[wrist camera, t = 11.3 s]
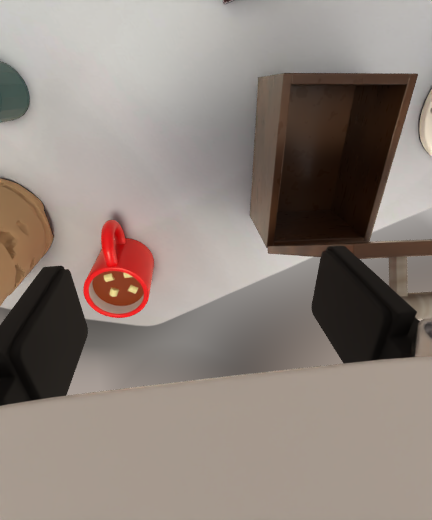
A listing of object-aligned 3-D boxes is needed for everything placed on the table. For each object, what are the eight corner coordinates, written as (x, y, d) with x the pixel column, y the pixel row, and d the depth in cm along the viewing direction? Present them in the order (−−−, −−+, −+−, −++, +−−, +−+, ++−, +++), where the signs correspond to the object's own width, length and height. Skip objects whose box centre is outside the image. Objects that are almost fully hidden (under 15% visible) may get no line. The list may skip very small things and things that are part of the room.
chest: (258, 77, 33) (283, 73, 25) (360, 77, 34) (418, 73, 26) (249, 215, 41) (266, 247, 33) (332, 212, 42) (369, 243, 34)
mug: (141, 207, 39) (133, 231, 33) (158, 280, 45) (154, 314, 39) (82, 214, 39) (61, 240, 32) (107, 287, 45) (94, 322, 38)
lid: (353, 244, 15) (355, 335, 15) (562, 234, 16) (562, 320, 16) (267, 246, 33) (269, 289, 33) (371, 241, 34) (372, 283, 34)
